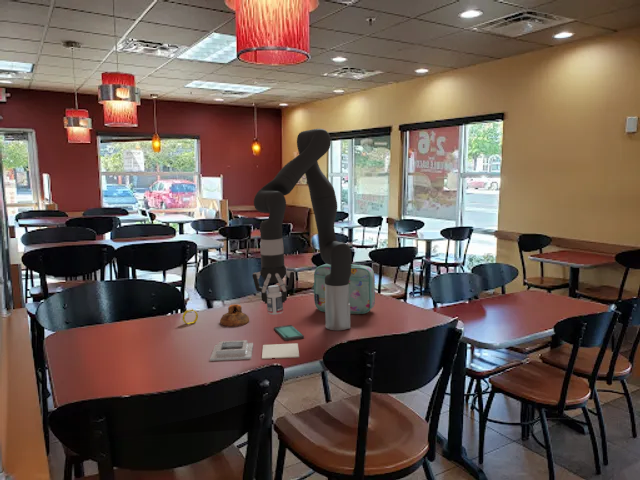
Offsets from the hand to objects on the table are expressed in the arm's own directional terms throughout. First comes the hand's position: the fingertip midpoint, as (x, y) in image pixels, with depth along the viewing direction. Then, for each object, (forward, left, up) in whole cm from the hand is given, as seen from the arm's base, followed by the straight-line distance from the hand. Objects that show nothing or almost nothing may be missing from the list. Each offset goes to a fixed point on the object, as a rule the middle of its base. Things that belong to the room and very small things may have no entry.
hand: (274, 302), depth 160 cm
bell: (+17, -34, -17) cm, 42 cm away
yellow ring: (+35, -35, -17) cm, 52 cm away
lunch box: (-28, -43, -17) cm, 55 cm away
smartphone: (-4, -18, -17) cm, 25 cm away
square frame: (+15, 0, -17) cm, 22 cm away
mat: (-1, +1, -17) cm, 17 cm away
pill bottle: (0, 0, -4) cm, 4 cm away
